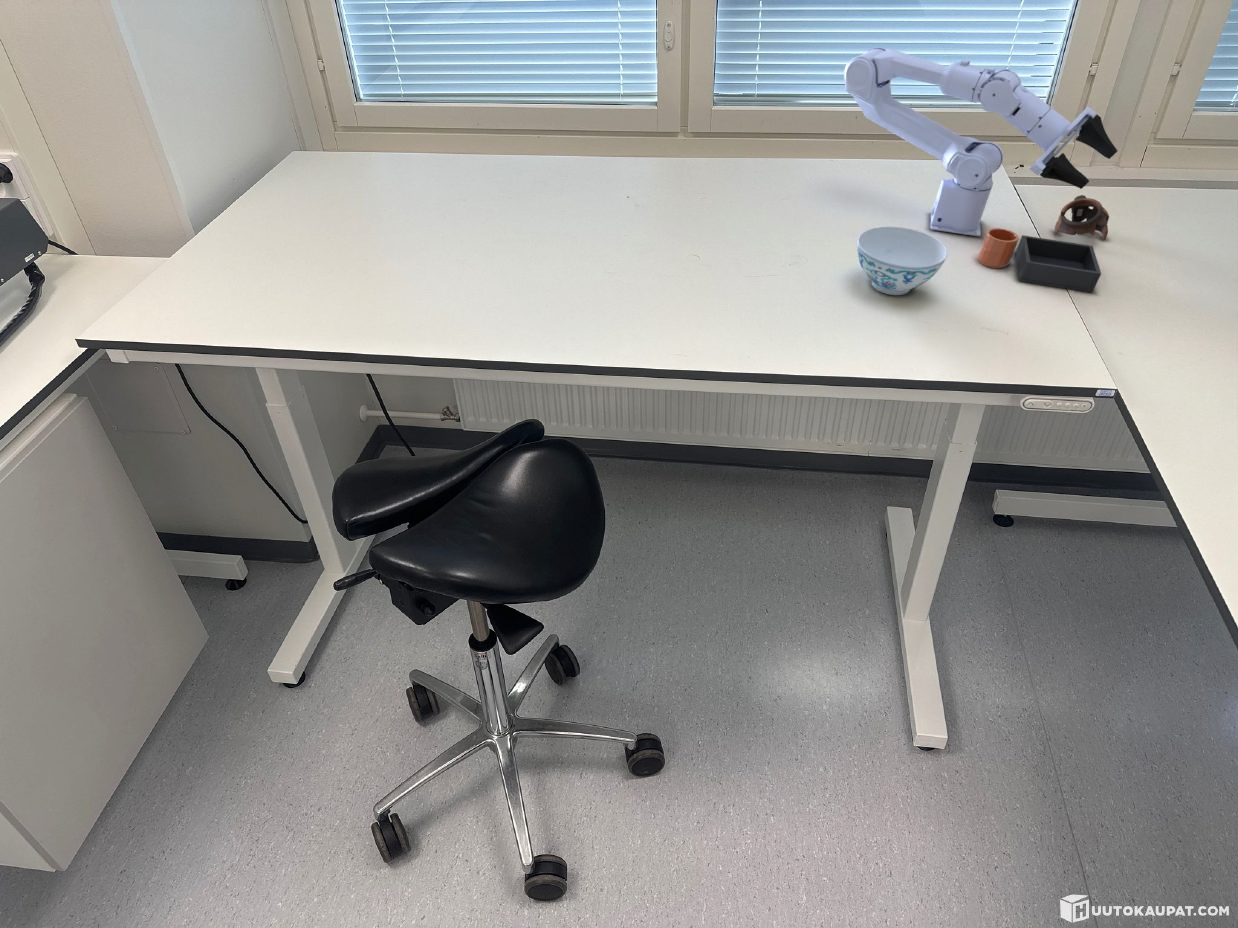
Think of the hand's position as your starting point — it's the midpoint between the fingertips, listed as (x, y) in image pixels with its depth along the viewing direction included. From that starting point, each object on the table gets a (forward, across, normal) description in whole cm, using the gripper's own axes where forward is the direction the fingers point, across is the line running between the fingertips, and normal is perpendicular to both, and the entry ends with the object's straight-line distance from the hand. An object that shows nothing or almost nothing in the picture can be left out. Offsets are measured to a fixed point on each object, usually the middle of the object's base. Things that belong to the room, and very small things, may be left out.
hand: (1099, 170), depth 142 cm
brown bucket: (-2, -20, +10) cm, 22 cm away
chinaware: (-13, -40, +1) cm, 42 cm away
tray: (+7, -15, +8) cm, 19 cm away
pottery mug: (+6, +1, +20) cm, 21 cm away
